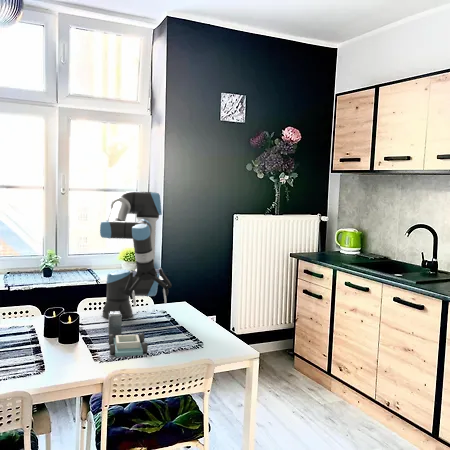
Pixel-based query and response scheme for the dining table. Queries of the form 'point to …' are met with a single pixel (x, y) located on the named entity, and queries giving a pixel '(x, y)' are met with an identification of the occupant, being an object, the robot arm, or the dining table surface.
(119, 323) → the grey upright block
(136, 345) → the chassis
